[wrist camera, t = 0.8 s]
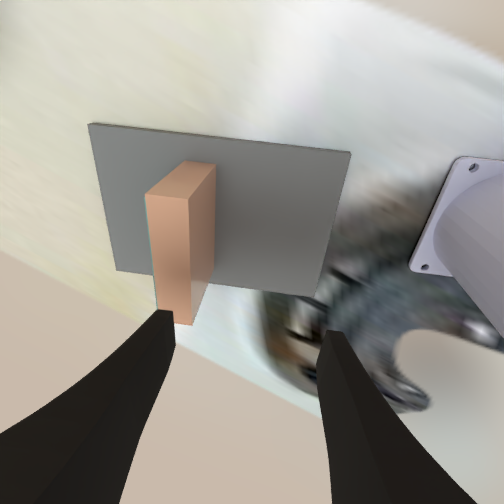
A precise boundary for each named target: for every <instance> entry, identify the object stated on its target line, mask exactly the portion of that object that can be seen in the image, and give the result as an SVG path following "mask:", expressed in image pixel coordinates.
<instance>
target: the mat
mask: <svg viewBox="0 0 504 504" xmlns="http://www.w3.org/2000/svg"><path fill="white" fill-rule="evenodd" d="M87 125H88V130H89V135H90V140H91V145H92V150H93V155H94V160H95V165H96V170H97V175H98V180H99V185H100V190H101V195H102V200H103V205H104V210H105V216H106V221H107V226H108V231H109V236H110V241H111V246H112V251H113V256H114V261H115V266H116V271H123V272H131V273H138V274H145V275H153V270H152V262H151V253H150V245H149V236H148V227H147V219H146V210H145V202H144V197H145V193H146V192H148V191H149V190H150V189H151V188H152V187H154V186H155V185H156V184H157V183H158V182H160V181H161V180H162V179H163V178H164V177H166V176H167V175H168V174H169V173H170V172H172V171H173V170H174V169H175V168H176V167H178V166H179V165H180V164H181V163H182V162H184V161H194V162H202V163H211V164H216V196H215V245H214V270H213V272H212V275H211V278H210V280H209V283H212V284H219V285H226V286H234V287H241V288H249V289H256V290H263V291H271V292H278V293H285V294H293V295H300V296H308V297H314V295H315V292H316V288H317V284H318V280H319V276H320V272H321V269H322V265H323V261H324V257H325V253H326V249H327V246H328V242H329V238H330V234H331V230H332V226H333V223H334V219H335V215H336V211H337V207H338V204H339V200H340V196H341V192H342V188H343V184H344V181H345V177H346V173H347V169H348V165H349V161H350V158H351V153H350V152H347V151H338V150H329V149H320V148H311V147H303V146H294V145H285V144H276V143H267V142H258V141H249V140H241V139H232V138H223V137H214V136H205V135H196V134H187V133H178V132H170V131H161V130H152V129H143V128H134V127H125V126H116V125H107V124H99V123H90V124H87Z"/></svg>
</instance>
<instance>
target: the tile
mask: <svg viewBox="0 0 504 504" xmlns="http://www.w3.org/2000/svg"><path fill="white" fill-rule="evenodd" d="M215 196H216V164H211V163H202V162H194V161H184V162H182V163H181V164H180V165H179V166H178V167H176V168H175V169H174V170H173V171H172V172H170V173H169V174H168V175H167V176H166V177H164V178H163V179H162V180H161V181H160V182H158V183H157V184H156V185H155V186H154V187H152V188H151V189H150V190H149V191H148V192H146V193H145V197H144V202H145V210H146V219H147V227H148V236H149V245H150V253H151V262H152V270H153V279H154V287H155V296H156V304H157V310H158V309H162V310H170V311H173V317H174V323H177V324H184V325H191V326H192V325H193V322H194V320H195V317H196V314H197V312H198V309H199V306H200V304H201V301H202V299H203V296H204V293H205V291H206V288H207V286H208V283H209V280H210V278H211V275H212V272H213V270H214V245H215Z"/></svg>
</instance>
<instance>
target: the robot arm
mask: <svg viewBox="0 0 504 504" xmlns="http://www.w3.org/2000/svg"><path fill="white" fill-rule="evenodd" d="M474 163H475V167H474V169H472V170H469V167H470V166H471V165H472V164H474ZM424 264H427V265H426V266H425V267H422V265H424ZM409 268H410V269H411V270H412V271H414V272H420V273H427V274H435V275H443V276H450V277H454V278H455V279H456V280H457V282H458V283H459V284H460V285H461V286H462V288H463V289H464V290H465V291H466V293H467V294H468V295H469V296H470V297H471V299H472V300H473V301H474V302H475V304H476V305H477V306H478V307H479V309H480V310H481V311H482V312H483V313H484V315H485V316H486V317H487V318H488V320H489V321H490V322H491V323H492V324H493V326H494V327H495V328H496V329H497V331H498V332H499V333H500V334H501V335H502V337H503V338H504V161H501V160H492V159H483V158H474V157H461V158H459V159H457V160H456V161H455V162H454V164H453V166H452V168H451V170H450V173H449V175H448V177H447V179H446V182H445V184H444V186H443V188H442V190H441V193H440V195H439V197H438V199H437V202H436V204H435V206H434V208H433V210H432V213H431V215H430V217H429V219H428V221H427V224H426V226H425V228H424V230H423V233H422V235H421V237H420V239H419V241H418V244H417V246H416V248H415V250H414V253H413V255H412V257H411V259H410V261H409ZM175 346H176V343H175V330H174V317H173V311H170V310H162V309H158V310H156V311H155V312H154V313H153V314H152V315H151V316H150V317H149V318H148V319H147V320H146V321H145V322H144V323H143V324H142V325H141V326H140V327H139V328H138V329H137V330H136V331H135V332H134V333H133V334H132V335H131V336H130V337H129V338H128V339H127V340H126V341H125V342H124V343H123V344H122V345H121V346H120V347H119V348H118V349H117V350H115V352H113V353H112V354H111V355H110V356H109V357H108V358H107V359H105V360H104V361H103V362H102V363H100V364H99V365H98V366H97V367H96V368H95V369H94V370H92V371H91V372H90V373H89V374H87V375H86V376H85V377H83V378H82V379H81V380H80V381H78V382H77V383H76V384H74V385H73V386H72V387H70V388H69V389H68V390H67V391H65V392H63V393H62V394H61V395H59V396H58V397H56V398H55V399H53V400H52V401H51V402H49V403H48V404H46V405H45V406H43V407H42V408H40V409H39V410H37V411H36V412H34V413H33V414H31V415H30V416H28V417H26V418H25V419H23V420H21V421H20V422H18V423H17V424H15V425H13V426H12V427H10V428H8V429H7V430H5V431H4V432H2V433H0V504H119V502H120V499H121V495H122V492H123V489H124V486H125V483H126V479H127V476H128V473H129V470H130V467H131V464H132V461H133V457H134V454H135V451H136V448H137V445H138V442H139V439H140V436H141V434H142V431H143V429H144V426H145V424H146V421H147V419H148V417H149V414H150V412H151V410H152V407H153V405H154V403H155V400H156V398H157V396H158V393H159V391H160V389H161V386H162V384H163V382H164V379H165V377H166V375H167V372H168V370H169V366H170V363H171V360H172V357H173V353H174V350H175ZM316 371H317V389H318V396H319V402H320V408H321V414H322V420H323V426H324V432H325V438H326V443H327V451H328V458H329V468H330V481H331V494H332V504H477V503H476V502H475V501H474V500H473V499H472V498H471V497H470V496H469V495H468V494H467V493H466V492H465V491H464V490H463V489H462V488H461V487H460V486H459V485H458V484H457V483H456V482H455V481H454V480H453V479H452V478H451V477H450V476H449V475H448V473H447V472H446V471H444V469H443V468H442V467H441V466H440V465H439V464H438V463H437V462H436V461H435V460H434V458H432V456H431V455H430V454H429V453H428V452H427V451H426V450H425V449H424V447H423V446H422V445H421V444H420V443H419V442H418V441H417V439H416V438H415V437H414V436H413V435H412V433H411V432H410V431H409V430H408V428H407V427H406V426H405V425H404V424H403V422H402V421H401V420H400V418H399V417H398V416H397V415H396V413H395V412H394V411H393V409H392V408H391V407H390V405H389V404H388V402H387V401H386V400H385V398H384V397H383V396H382V394H381V393H380V391H379V390H378V388H377V387H376V385H375V384H374V382H373V381H372V379H371V378H370V376H369V375H368V373H367V372H366V370H365V369H364V367H363V365H362V364H361V362H360V360H359V359H358V357H357V356H356V354H355V352H354V351H353V349H352V347H351V345H350V344H349V342H348V340H347V338H346V337H345V335H344V333H343V332H340V331H332V330H326V334H325V337H324V340H323V343H322V346H321V350H320V353H319V356H318V359H317V362H316Z"/></svg>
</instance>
